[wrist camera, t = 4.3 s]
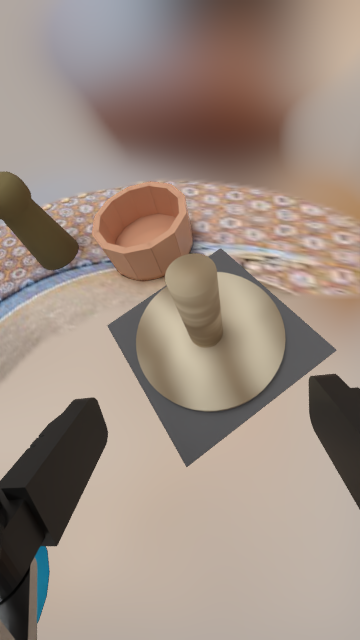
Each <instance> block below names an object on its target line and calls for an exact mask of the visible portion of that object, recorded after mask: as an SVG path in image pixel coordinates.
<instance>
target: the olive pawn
mask: <svg viewBox="0 0 360 640" xmlns="http://www.w3.org/2000/svg"><path fill="white" fill-rule="evenodd" d="M0 219H2V220H3V221H4V222H5V223H6V224H7V226H8V227H9V228H10V229H11V230H12V231H13V233H14V234H15V235H16V236H17V237H18V238H19V240H20V241H21V242H22V243H23V244H24V245H25V247H26V248H27V249H28V250H29V251H30V252H31V254H32V255H33V256H34V257H35V258H36V259H37V261H38V262H39V263H40V264H41V265H42V266H43V267H44V268H46V269H48V270H55V269H59V268H62V267H64V266H66V265H67V264H68V263H70V262H71V261H72V260H73V259H74V257H75V256H76V254H77V252H78V243H77V242H76V240H75V239H74V238H73V237H72V236H70V235H69V234H68V233H67V232H66V231H65V230H64V229H63V228H62V227H61V226H60V225H59V224H58V223H57V222H56V221H54V220H53V219H52V218H51V217H50V216H49V215H48V214H47V213H46V212H45V211H44V210H43V209H42V208H41V207H40V206H39V205H37V204H36V203H35V202H34V201H33V200H32V199H31V193H30V191H29V189H28V187H27V186H26V185H25V184H24V182H23V181H22V180H21V179H20V178H19V177H18V176H16V175H14V174H12V173H10V172H0Z"/></svg>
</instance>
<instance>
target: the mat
mask: <svg viewBox="0 0 360 640" xmlns="http://www.w3.org/2000/svg"><path fill="white" fill-rule="evenodd" d="M209 258H210V259H211V260H212V261H213V262H214V263H215V265H216V268H217V272H224V273H229V274H234V275H237V276H240V277H243V278H245V279H247V280H249V281H251V282H252V283H254V284H256V285H257V286H258V287H260V288H261V289H262V290H264V292H265V293H266V294H267V295H268V296H269V297H270V298H271V299H272V301H273V302H274V303H275V305H276V307H277V308H278V310H279V312H280V315H281V317H282V320H283V324H284V328H285V339H286V340H285V350H284V354H283V359H282V361H281V364H280V366H279V369H278V370H277V372H276V374H275V375H274V377H273V379H272V380H271V381H270V383H269V384H268V385H267V386H266V387H265V389H264V390H263V391H261V392H260V393H259V394H258V395H257V396H256V397H254V398H253V399H251V400H250V401H248V402H246V403H244V404H242V405H240V406H238V407H235V408H231V409H228V410H223V411H215V412H205V411H197V410H192V409H189V408H185V407H183V406H180V405H178V404H176V403H174V402H172V401H171V400H169V399H167V398H166V397H164V396H163V395H162V394H160V393H159V392H158V391H157V390H156V389H155V388H154V387H153V386H152V385H151V384H150V382H149V381H148V380H147V378H146V377H145V375H144V373H143V371H142V369H141V367H140V364H139V361H138V357H137V351H136V335H137V330H138V325H139V322H140V319H141V317H142V315H143V313H144V311H145V309H146V307H147V306H148V304H149V303H150V302H151V300H152V299H153V298H154V297H155V296H156V295H157V294H158V293H159V292H160V291H161V290H162V289H164V288H165V287H166V286H167V285H166V286H165V287H163V288H162V289H160V290H159V291H157V292H156V293H154V294H153V295H152V296H150V297H149V298H147V299H146V300H144V301H143V302H141V303H140V304H138V305H137V306H135V307H134V308H132V309H131V310H130V311H128V312H127V313H125V314H124V315H122V316H121V317H119V318H118V319H116V320H115V321H113V322H112V323H111V324H109V325H108V328H109V330H110V331H111V333H112V335H113V337H114V338H115V340H116V342H117V344H118V346H119V347H120V349H121V351H122V353H123V355H124V356H125V358H126V360H127V361H128V363H129V365H130V367H131V369H132V371H133V372H134V374H135V376H136V378H137V379H138V381H139V383H140V385H141V387H142V388H143V390H144V392H145V394H146V396H147V397H148V399H149V401H150V403H151V405H152V406H153V408H154V410H155V412H156V413H157V415H158V417H159V419H160V421H161V422H162V424H163V426H164V428H165V429H166V431H167V433H168V435H169V437H170V438H171V440H172V442H173V444H174V445H175V447H176V449H177V451H178V453H179V454H180V456H181V458H182V460H183V461H184V463H185V465H186V467H188V466H189V465H190V464H191V463H193V462H194V461H195V460H196V459H198V458H199V457H200V456H202V455H203V454H204V453H206V452H207V451H208V450H209V449H211V448H212V447H213V446H215V445H216V444H217V443H218V442H220V441H221V440H222V439H223V438H225V437H226V436H227V435H228V434H230V433H231V432H232V431H234V430H235V429H236V428H237V427H239V426H240V425H241V424H243V423H244V422H245V421H247V420H248V419H249V418H250V417H251V416H253V415H254V414H256V413H257V412H258V411H259V410H261V409H262V408H263V407H265V406H266V405H267V404H268V403H270V402H271V401H272V400H273V399H275V398H276V397H277V396H279V395H280V394H281V393H282V392H284V391H285V390H286V389H287V388H289V387H290V386H291V385H293V384H294V383H295V382H296V381H298V380H299V379H300V378H302V377H303V376H304V375H306V374H307V373H308V372H309V371H311V370H312V369H313V368H314V367H316V366H317V365H318V364H320V363H321V362H322V361H323V360H325V359H326V358H327V357H328V356H330V355H331V354H332V353H334V352H335V351H336V349H335V348H334V347H333V346H331V345H330V344H329V343H328V342H327V341H326V340H325V339H323V338H322V337H321V336H320V335H319V334H318V333H317V332H315V331H314V330H313V329H312V328H311V327H310V326H309V325H307V324H306V323H305V322H304V321H303V320H302V319H301V318H300V317H298V316H297V315H296V314H295V313H294V312H293V311H291V310H290V309H289V308H288V307H287V306H286V305H285V304H284V303H282V302H281V301H280V300H279V299H278V298H277V297H276V296H274V295H273V294H272V293H271V292H270V291H269V290H268V289H267V288H265V287H264V286H263V285H262V284H261V283H260V282H259V281H257V280H256V279H255V278H254V277H253V276H252V275H251V274H249V273H248V272H247V271H246V270H245V269H244V268H243V267H241V266H240V265H239V264H238V263H237V262H236V261H235V260H233V259H232V258H231V257H230V256H229V255H228V254H227V253H226V252H224V251H223V250H222V249H219V250H218V251H216V252H215V253H213V254H212V255H210V256H209Z"/></svg>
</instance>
